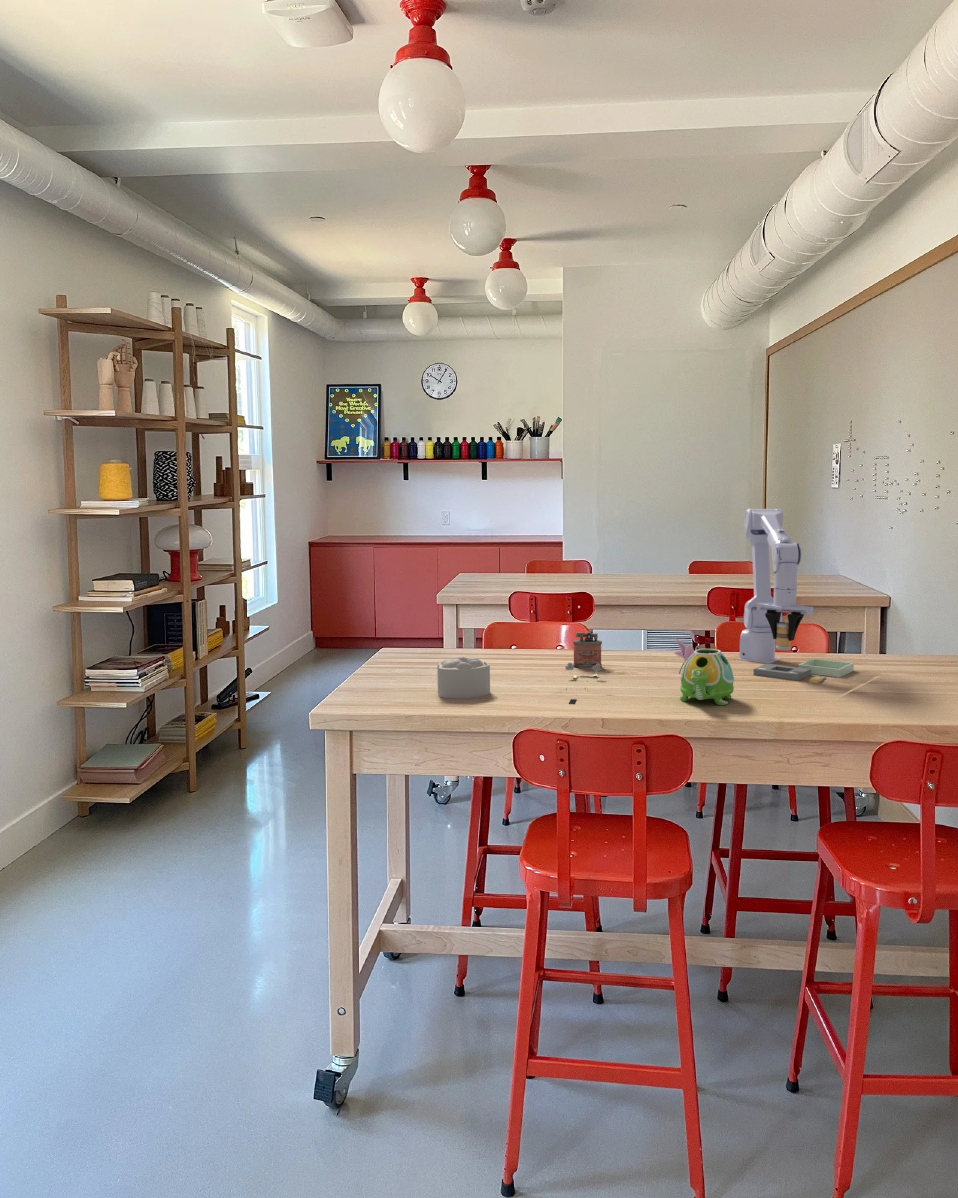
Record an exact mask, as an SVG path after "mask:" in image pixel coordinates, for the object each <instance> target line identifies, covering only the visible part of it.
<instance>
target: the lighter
mask: <svg viewBox="0 0 958 1198" xmlns="http://www.w3.org/2000/svg"><path fill="white" fill-rule="evenodd" d="M575 637H576V638H579V639H574V640H573V641H572V643H573V663H572V665H573V666H574V669H592V668H593V666H596V664H600V665H601V667H600V668H601V669H602V668H603V666H602V665H603V663H602V645H603V641H602V640H600V639H599V640H598V633H597V632H595V633H594V632H591V631H586V632H579V631H578V632H576V633H575Z"/></svg>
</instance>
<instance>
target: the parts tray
mask: <svg viewBox="0 0 958 1198" xmlns="http://www.w3.org/2000/svg"><path fill="white" fill-rule="evenodd" d="M854 665H855V663H854V662H848V661H847V662H846V661H839V660H838V661H837V660H830V659H821V658H814V657H813V658H812V659H811V658H810V659H809V660H805V661H804V662H801V663H798V666H797V667H798V668H806V669H811V675H817V676H821V677H831V678H838V679H840V678H841V677H843V676H846V675H848V674H849V673H852V672H854V669H855V668H854V667H855V666H854Z"/></svg>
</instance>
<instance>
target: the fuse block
mask: <svg viewBox="0 0 958 1198" xmlns="http://www.w3.org/2000/svg"><path fill="white" fill-rule="evenodd" d="M753 676H759V677H765V678H772V679H773V678H775V679H781V680H788V681H797V682H798V681H801V680H802V679H805V678H807V677H809V676H812V674H811V669H806V668H798V666H797V667H796V666H790V665H789V666H787V665H779V664H772V663H764V664H763V665H760V666H757V667H755V668H753Z"/></svg>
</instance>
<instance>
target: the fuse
mask: <svg viewBox="0 0 958 1198" xmlns="http://www.w3.org/2000/svg"><path fill="white" fill-rule="evenodd" d="M788 636H789V622H788V621H782V622H777V634H776V639H775V650H778V651H790V650H791V649H792V648H791V644H792V643H791V642H792V641H789V638H788Z"/></svg>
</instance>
